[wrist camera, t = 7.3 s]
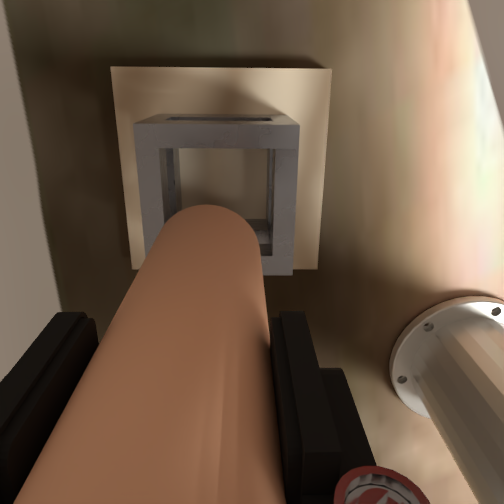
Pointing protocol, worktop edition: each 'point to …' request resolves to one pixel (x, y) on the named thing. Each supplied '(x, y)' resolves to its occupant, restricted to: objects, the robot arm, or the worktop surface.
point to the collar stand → (225, 153)
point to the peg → (175, 383)
